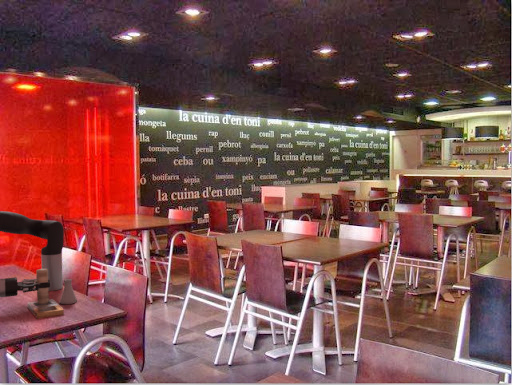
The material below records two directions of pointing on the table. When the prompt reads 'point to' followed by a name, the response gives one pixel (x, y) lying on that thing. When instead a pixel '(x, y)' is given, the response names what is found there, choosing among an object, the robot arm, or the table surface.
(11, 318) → the table surface
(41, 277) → the wooden peg
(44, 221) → the robot arm
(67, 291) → the flask
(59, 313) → the flat wooden frame
